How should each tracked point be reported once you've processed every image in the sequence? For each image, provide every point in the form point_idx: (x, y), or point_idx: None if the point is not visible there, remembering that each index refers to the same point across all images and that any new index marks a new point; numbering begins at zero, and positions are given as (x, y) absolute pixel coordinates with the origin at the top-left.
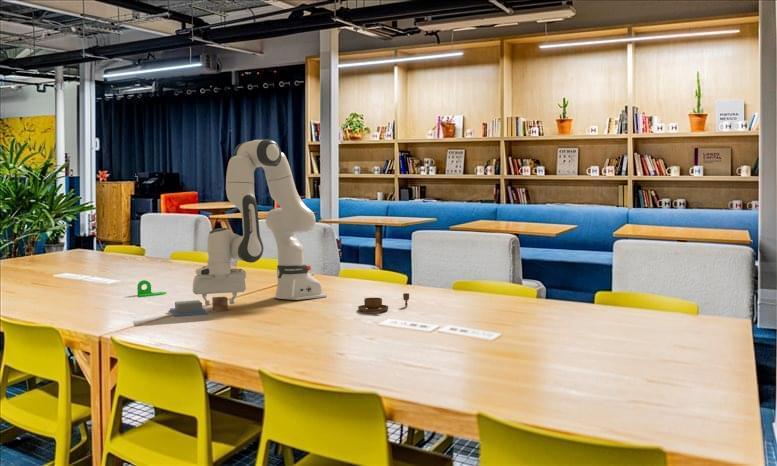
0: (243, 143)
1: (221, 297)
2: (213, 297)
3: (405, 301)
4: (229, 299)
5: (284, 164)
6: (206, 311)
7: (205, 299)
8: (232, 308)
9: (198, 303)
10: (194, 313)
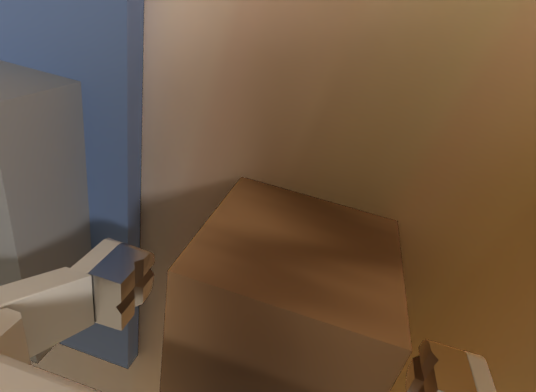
0: None
1: (291, 390)
2: (179, 301)
3: None
4: (435, 387)
5: None
6: (122, 344)
7: (53, 333)
8: (478, 265)
9: None
10: None
